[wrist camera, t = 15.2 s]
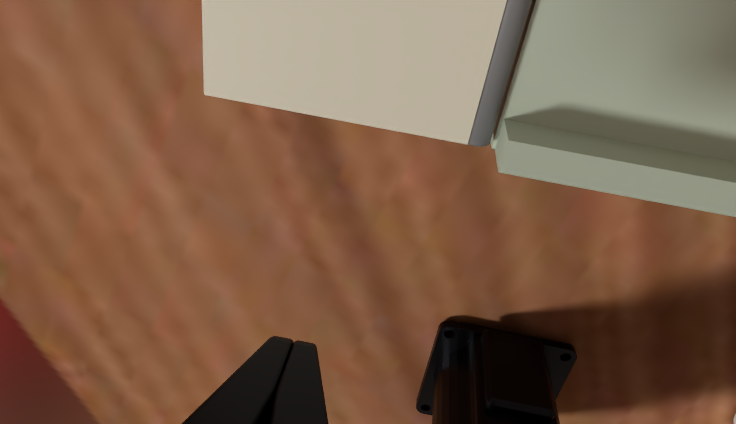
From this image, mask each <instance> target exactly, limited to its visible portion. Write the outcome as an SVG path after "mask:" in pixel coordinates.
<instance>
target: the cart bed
mask: <svg viewBox="0 0 736 424" xmlns="http://www.w3.org/2000/svg"><path fill="white" fill-rule="evenodd" d="M491 148H493V149H495V153H496V160H497V166H498V172H500V173H505V174H510V175H516V176H521V177H526V178H532V179H537V180H542V181H547V182H553V183H558V184H563V185H569V186H574V187H579V188H585V189H590V190H595V191H600V192H606V193H611V194H616V195H622V196H627V197H632V198H638V199H643V200H648V201H653V202H659V203H664V204H669V205H675V206H680V207H685V208H691V209H696V210H701V211H706V212H712V213H717V214H722V215H728V216H733V217H736V0H532V3H531V7H530V10H529V13H528V17H527V20H526V23H525V27H524V30H523V34H522V37H521V40H520V44H519V47H518V50H517V54H516V57H515V60H514V64H513V67H512V71H511V74H510V77H509V81H508V84H507V87H506V91H505V94H504V97H503V101H502V104H501V108H500V111H499V114H498V118H497V121H496V124H495V128H494V131H493V134H492V138H491Z"/></svg>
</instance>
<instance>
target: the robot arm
mask: <svg viewBox="0 0 736 424" xmlns="http://www.w3.org/2000/svg"><path fill="white" fill-rule="evenodd" d="M447 330H451V331H452V332H447ZM564 353H567V354H566V355H562V354H564ZM576 358H577V355H576V351H575V348H574V347H573V346H572V345H570V344H567V343H562V342H557V341H552V340H547V339H542V338H537V337H532V336H527V335H522V334H517V333H511V332H506V331H501V330H496V329H491V328H486V327H481V326H476V325H471V324H466V323H461V322H456V321H444V322H442V323H441V324H440V325H439V328H438V331H437V334H436V337H435V341H434V344H433V347H432V351H431V354H430V357H429V361H428V364H427V367H426V371H425V374H424V377H423V380H422V384H421V387H420V390H419V394H418V397H417V403H416V409H417V410H418V411H419V412H420V413H423V414H428V415H432V424H560V422H559V417H558V412H557V407H556V402H555V399H556V397H557V395H558V393H559V391H560V390H561V388H562V386H563V384H564V382H565V380H566V378H567V376H568V374H569V372H570V370H571V368H572V367H573V365H574V363H575V361H576ZM182 424H328V419H327V412H326V405H325V399H324V392H323V386H322V379H321V373H320V366H319V359H318V353H317V347H316V345H315V344H313V343H308V342H303V341H295V342H293V340H291V339H288V338H283V337H278V336H273V337H271V338H269V339H268V340H267V341H266V342H265V343H264V344H263V345H262V346H261V347H260V348H259V349H258V350H257V351H256V352H255V353H254V354H253V355H252V356H251V357H250V358H249V359H248V360H247V361H246V362H245V363H244V364H243V365H242V366H241V367H240V368H238V369H237V370H236V371H235V372H234V373H233V374H232V375H231V376H230V377H229V378H228V379H227V380H226V381H225V382H224V383H223V384H222V385H221V386H220V387H219V388H218V389H217V390H216V391H215V392H214V393H213V394H212V395H211V396H210V397H209V398H208V399H207V400H206V401H205V402H204V403H202V404H201V405H200V406H199V407H198V408H197V409H196V410H195V411H194V412H193V413H192V414H191V415H190V416H189V417H188V418H187V419H186V420H185V421H184V422H183V423H182Z"/></svg>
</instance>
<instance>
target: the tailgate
mask: <svg viewBox="0 0 736 424" xmlns="http://www.w3.org/2000/svg"><path fill="white" fill-rule="evenodd" d="M531 3H532V0H202V28H203V71H204V95H208V96H214V97H219V98H224V99H229V100H235V101H240V102H245V103H251V104H256V105H261V106H266V107H272V108H277V109H282V110H288V111H293V112H298V113H303V114H309V115H314V116H319V117H325V118H330V119H335V120H340V121H346V122H351V123H356V124H362V125H367V126H372V127H377V128H383V129H388V130H393V131H398V132H404V133H409V134H414V135H420V136H425V137H430V138H435V139H441V140H446V141H451V142H457V143H462V144H467V145H468V144H469V145H473V146H487V145H489V144H490V141H491V138H492V134H493V131H494V128H495V124H496V121H497V118H498V114H499V111H500V108H501V104H502V101H503V97H504V94H505V91H506V87H507V84H508V81H509V77H510V74H511V71H512V67H513V64H514V60H515V57H516V54H517V50H518V47H519V44H520V40H521V37H522V34H523V30H524V27H525V23H526V20H527V17H528V13H529V10H530V7H531Z"/></svg>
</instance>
